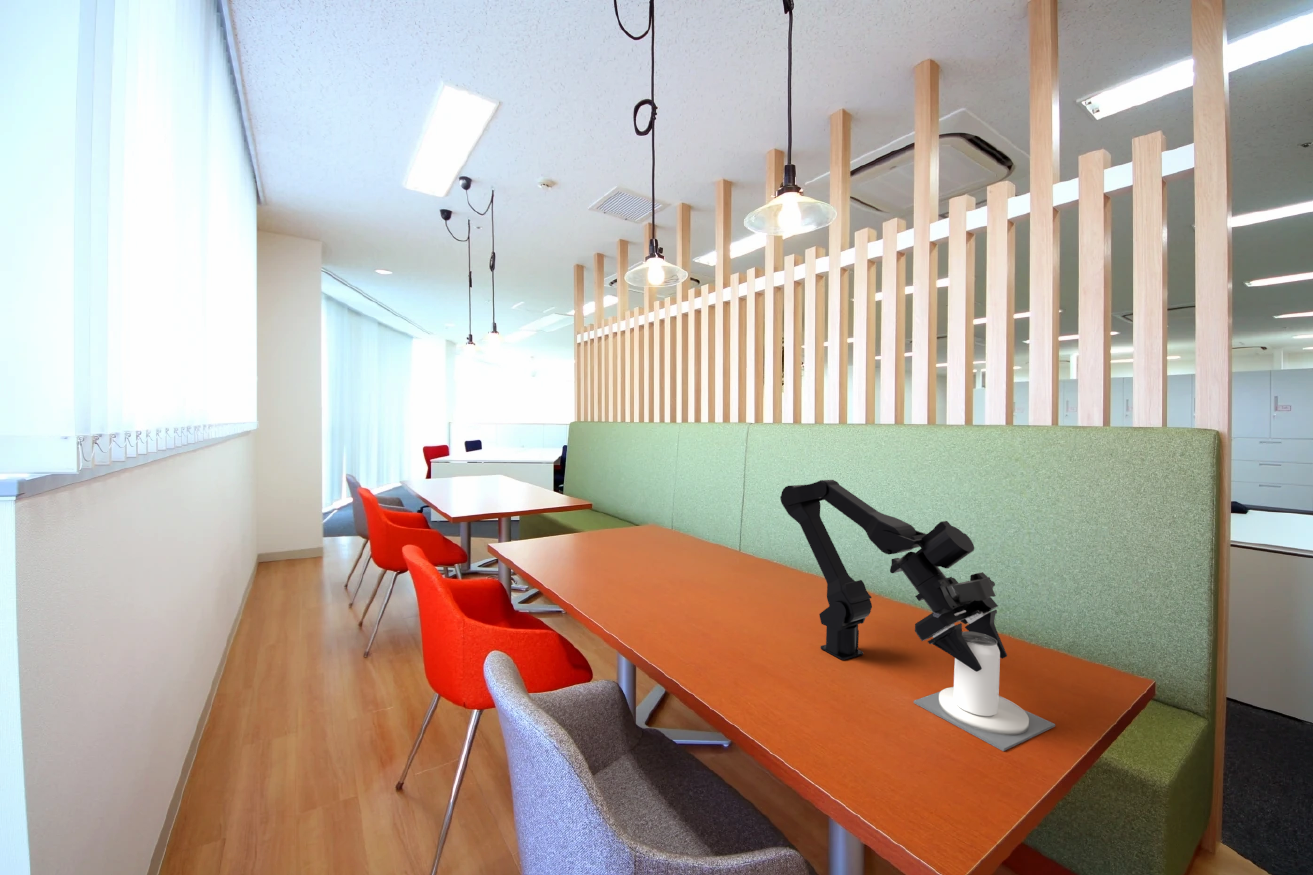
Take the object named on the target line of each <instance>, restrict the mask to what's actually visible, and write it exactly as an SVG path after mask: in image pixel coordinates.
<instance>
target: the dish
mask: <svg viewBox="0 0 1313 875" xmlns="http://www.w3.org/2000/svg"><path fill="white" fill-rule="evenodd" d="M953 695H954V686H951V687H946V688H943V689H942V690H940V691H937V692H935V693H932V694H929V695H927V696H923V697H920V698H917V699H914V700H913V704H915V705H917V706H918V707H921V708H923V709H925V710H926V711H927V712H929V713H931V714H933V715H935V716H937V717H939V718H941V719H943V720H944V721H947V722H948V723H950V724H952V725H953V726H956V727H958V728H959V729H962V730H963V731H965V732H966V733H969V734H970V735H971V736H972V735H973V736H974V737H975V738H978V739H980V740H982V741H984V742H985V743H987V744H989V745H990V746H993V747H994V748H997V749H998V750H1000V751H1002V752H1005V751H1007V750H1009V749H1011V748H1013V747H1015V746H1018V745H1019V744H1022V743H1024V742H1026V741H1028V740H1030V739H1032V738H1034V737H1036V736H1039V735H1040V734H1042V733H1044V732H1046V731H1048V730H1050V729H1053V728H1055V727H1056V723H1053V721H1050V720H1047V719H1045V718H1043V717H1040V716H1039V715H1037V714H1034V713H1032V712H1029V711H1028V710H1025V709H1023V708H1022V707H1021V706H1019V705H1017V704H1016V703H1014V702H1013V701H1011V700H1010V699H1007V698H1006V697H1003V696H1001V695H999V698H998V712H997V714H995V715H994V716H992V717H981V716H976V715H973V714H970V713H967V712H965V711H963V710H962V709H960V708H959V707H958V706H957V705H956V703H955V702H954V699H953Z"/></svg>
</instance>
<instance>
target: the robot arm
mask: <svg viewBox="0 0 1313 875" xmlns="http://www.w3.org/2000/svg"><path fill="white" fill-rule="evenodd" d="M779 498H780V502H781V505H782V507H783V508H784V510H785V511H786V513H787V514H788V516H789V517H791V518H792V519H793V520H794V521H795V522H796V523H798V524H799V525H800V528H801V529H802V532H803V534H804V536H805V539H806V541H807V542H808V546H809V547H810V549H811V551H812V554H813V556H814V558H815V560H816V562H817V565H818V567H819V569H820V571H821V572H822V574H823V577H824V580H825V582H826V600H827V603H828V607H827V608H825V609H824V610H822V611H821V612H820V613H819V619H820V623H821V625H823V626H826V631H825V632H826V634H825V636H826V638H825V639H826V640H825V644H823V645H820V650H823V651H825V652H826V653H828V654H830V655H831V656H834V657H836V658H838V659H839V660H843V661H844V660H848V659H851V658H852V659H853V658H856V657H860V656H863V655H864V651H862V650H861V649H859V637H860V636H859V635H860V631H859V625H861V624H862V625H863V624H864V623H865V620H866V618H867V617H870V616H869V615H870V614H871V612H872V608H873V604H872V600H871V599H872V596H871V594H870V593H869V592H868V590H867V588H866V585H865V583H864V582H863V580H862V579H859V580H854V579H853V578H852V577H851V576H850V575H849V573H848V571H847V569H846V567H845V565H844V563H843V561H842V558H841V556H840V555H839V552H838V551H837V548H836V547H835V544H834V542H833V540H832V538H831V536H830V535H829V532H828V531H827V528H826V526H825V524H824V521H823V520H822V517H821V501H825V502H827V503H828V504H830V505H831V506H832V507H834V508H835V509H836V510H837V511H839V512H841V513H842V514H843V515H844V516H846V517H847V518H848V519H850V520H851V521H852V522H854V523H855V524H856V525H858V526H859V527H861V528H862V529H863V530H864V532H865V534H866V535H867V537H868V539H869V541H870V542H871V543H872V544H874V546H875V547H877V549H878V550H880V552H882V553H884V554H885V555H894V554H896V555H897V554H901V553H905V552H907V553H905V554H904V555H903V556H901V557H894V558H891V560H890V561H891V565H890V569H889V572H890V573H891V574H896V573H899V572H903V575H904V576H905V577H906V579H908V580H909V582H910V583H911V585H912V586H913V588H914V589H915V591H916V592H917V593H918V594H917V595H915V598H916V599H917V600H918V602H920V601H923V602H924V603H925V604H926V605H927V607H928V609H929V610H930V611H931V613H930V614H928V615H927V616H925V617H924V618H922V619H921V620H919V621H917V622H915V623H914V632H915V634H916V635H917V637H918V638H919V639H920V640H921V642H923V641H927V640H928V641H927V643H928V644H929V645H934V646H935V647H936V648H939V649H940V650H941V651H943V652H945V653H946V654H948V655H950V656H952V657H953V658H954V659H955V658H956V659H958V660H959V661H961V662H962V663H964V664H965V665H967V666H968V667H970V668H971V669H973V670H974V671H976V672H977V671H979V670H981V669H982V668H981V666H980V664H979V662H978V660H977V659H976V657H975V656H974V654H973V652H972V651H971V649H970V648H969V646H968V645H967V643H966V641H965V640H964V638H963V637H962V632H963V625H966V626H964V628H965V629H966V630H967V631H970V632H977V633H982V634H985V635H988V636H991V637H993V638H994V639H996V640H997V646H998V648H999V650H1000V659H1005V658H1007V657H1008V654H1007V652H1006V649H1005V647H1004V644H1003V642H1002V640H1001V638H1000V636H999V633H998V629H997V627H996V625H995V618H996V614H997V613H998V610H997V609H996V608H998V606H999V605H998V604H997V603H996V601H995V600H994V599H993V597H996V593H995V590H994V587H995V586H996V583H995V582H994V581H993V580H992V579H991V577H990V576H987V575H986V573H984V572H976V573H973V574H970V577H969V579H970V580H966V581H961V582H958V580H957V579H956V578H955V577H952V576H949V577H946V575H945V573H943V571H942V570H941V569H940V568H943V569H950V568H952V567H953V566H955V565H956V563H958V562H960V561H961V560H962V559H964V558H966V557H967V556H968V555H970V554H971V553H973V552H974V551H975V546H974V542H973V541H972V540H971V538H970V537H969V536H968V534H966V533H964V532H963V531H962V530H960V529H959V528H957V527H955V526H954V525H952V524H950V522H949V521H948V520H945V521H944V520H942V521H940V522H939V523H938V524H936V525H935V526H934V528H933V529H932V530H930V531H929V532H927V533H925V532H922V531H918V530H916V528H915V527H914V526H913V525H912V524H910V523H909V522H906V521H903V520H902V519H899V518H897V517H894V516H891V515H888V514H884V513H882V512H880V511H878V510H877V509H875V508H874V507H872V506H871V505H869V504H868V503H867V502H865V501H863V500H862V499H860V497H858V496H856V495H855V494H853V493H852V492H850V491H849V490H847V489H846V488H845V487H844V486H842V485H841V484H840V483H839V482H838V481H836V480H834V479H822V480H818V481H815V482H812V483H809V484H797V485H796V484H795V485H787V486H785V487H784V488H783V489H782V491H781V495H780V496H779ZM916 548H917V549H918V548H920V549H918V550H917V551H915V552H914V551H912V550H913V549H916ZM958 622H960V623H958ZM956 623H958V624H956ZM955 624H956V625H955Z"/></svg>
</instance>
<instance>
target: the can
mask: <svg viewBox="0 0 1313 875" xmlns="http://www.w3.org/2000/svg"><path fill="white" fill-rule="evenodd" d="M962 637H963V638H964V640H965V641H966V643H967V645H968V646H969V648H970V649H971V651H972V652H973V654H974V656H975V657H976V659H977V660H978V662H979V664H980V666H981V668H982V669H981V670H979V671H977V672H976V671H974V670H973V669H971V668H970V667H968V666H967V665H965V664H964V663H962V662H961V661H959V660H958V659H956V658H955V657H954V667H953V668H954V670H953V687H954V695H953V699H954V702H955V703H956V705H957V706H958V707H959V708H960V709H962V710H963V711H965V712H967V713H970V714H973V715H976V716H981V717H992V716H994V715H995V714H997V712H998V698H999V696H1000V694H999V692H1000V673H1001V672H1000V668H1001V667H1000V664H1001V658H1000V650H999V648H998V646H997V640H996V639H994V638H993V637H991V636H988V635H985V634H982V633H977V632H970V631H968V630H967V631H962Z"/></svg>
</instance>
